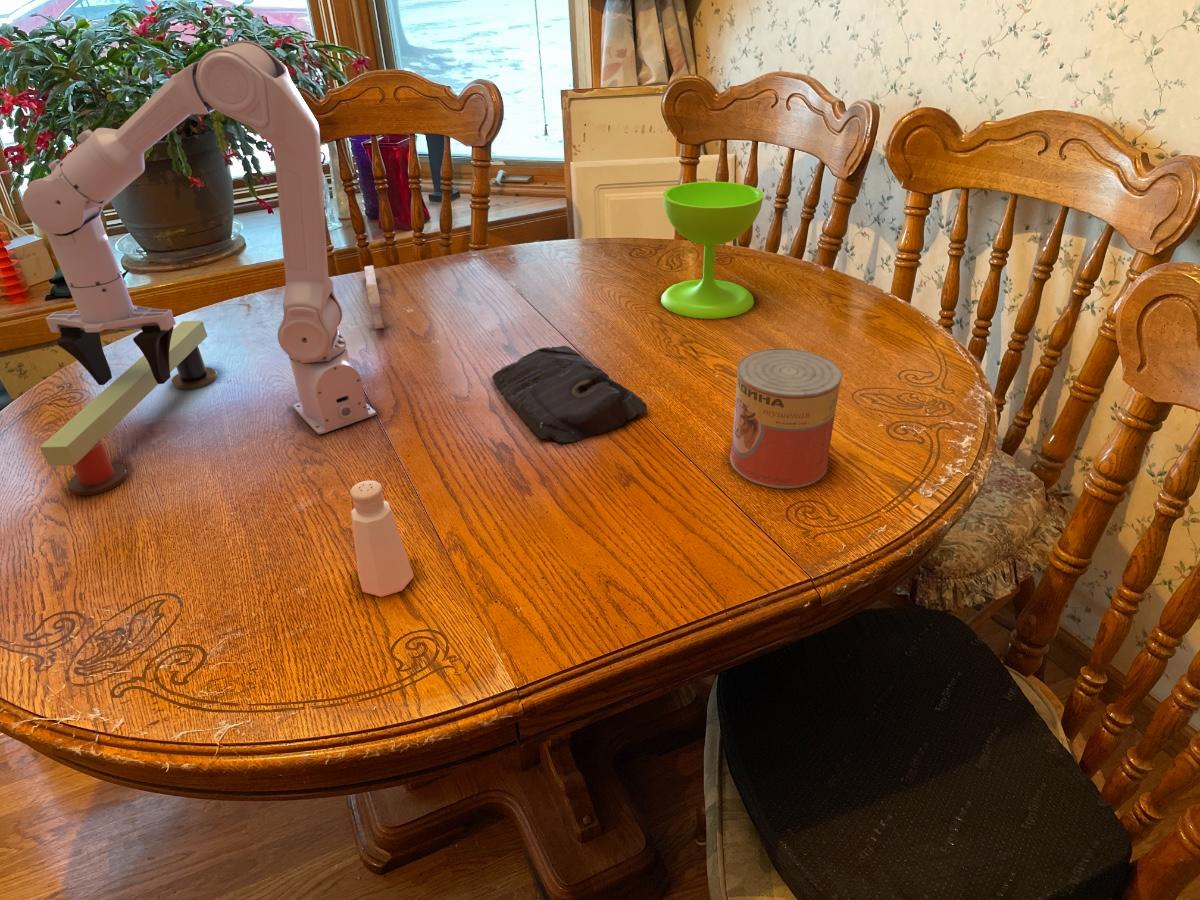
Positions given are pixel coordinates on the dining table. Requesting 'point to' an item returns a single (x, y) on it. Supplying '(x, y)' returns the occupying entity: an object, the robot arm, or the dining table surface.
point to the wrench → (374, 297)
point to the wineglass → (710, 244)
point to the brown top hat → (193, 372)
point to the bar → (116, 401)
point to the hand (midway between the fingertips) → (134, 381)
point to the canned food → (784, 417)
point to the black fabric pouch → (565, 395)
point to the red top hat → (96, 473)
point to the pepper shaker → (377, 542)
